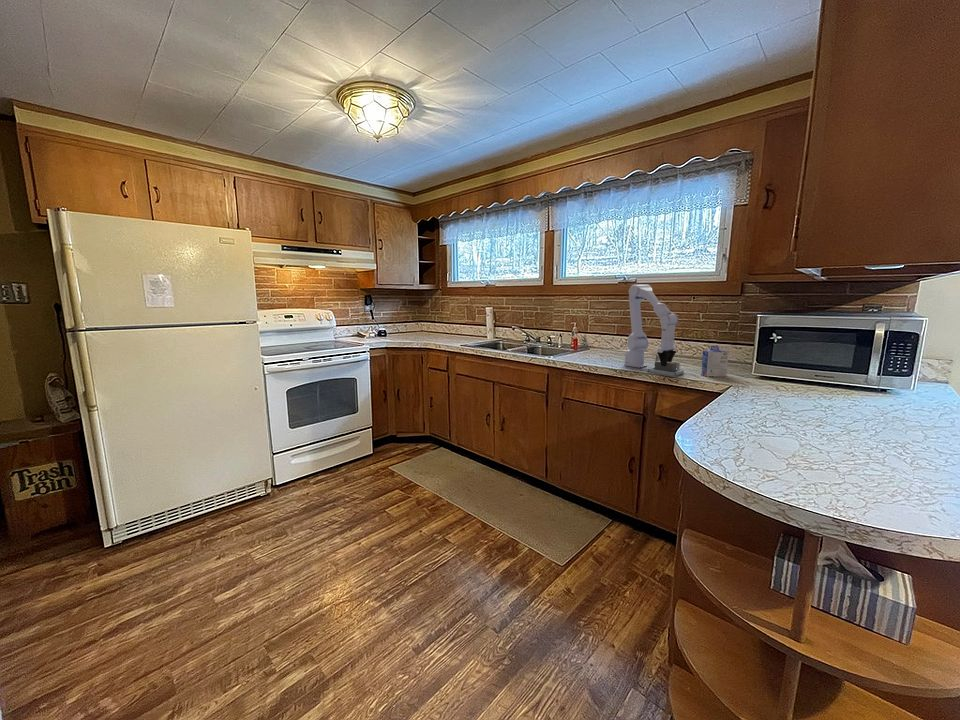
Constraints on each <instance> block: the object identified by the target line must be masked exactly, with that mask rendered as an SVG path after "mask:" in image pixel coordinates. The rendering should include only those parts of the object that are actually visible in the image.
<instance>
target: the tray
mask: <svg viewBox="0 0 960 720" xmlns="http://www.w3.org/2000/svg"><path fill="white" fill-rule="evenodd" d="M654 367H655V366H652V367H649V368H647V369H646V372H647V373H649V372H651V373H650V374H655V373H657V374H658V375H662V374H663V376H670V377H675V378H676V377H678V376H681V374H682V375H684V374H685V373H684V372H685V370H683V369H676V372H668V371H662V370H655V369H654Z"/></svg>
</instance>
